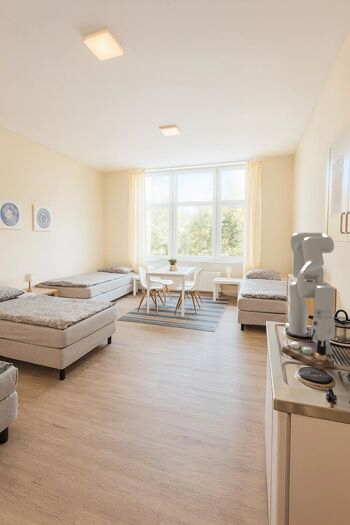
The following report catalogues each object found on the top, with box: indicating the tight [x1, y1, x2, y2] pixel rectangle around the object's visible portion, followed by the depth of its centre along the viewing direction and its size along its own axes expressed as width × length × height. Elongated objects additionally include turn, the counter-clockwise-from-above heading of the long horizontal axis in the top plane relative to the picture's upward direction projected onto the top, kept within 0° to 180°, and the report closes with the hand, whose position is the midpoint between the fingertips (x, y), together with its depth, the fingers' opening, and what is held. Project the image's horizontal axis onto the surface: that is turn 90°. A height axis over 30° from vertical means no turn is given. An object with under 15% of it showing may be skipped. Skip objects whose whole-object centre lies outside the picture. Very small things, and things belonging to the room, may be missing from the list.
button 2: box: [302, 346, 313, 356], centre depth 125 cm, size 4×4×3 cm
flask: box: [326, 340, 333, 356], centre depth 131 cm, size 7×7×10 cm
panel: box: [281, 344, 335, 370], centre depth 125 cm, size 20×10×3 cm, turn 25°
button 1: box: [289, 341, 300, 350], centre depth 131 cm, size 4×4×3 cm
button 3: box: [315, 353, 327, 362], centre depth 118 cm, size 4×4×3 cm
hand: (321, 353), depth 118 cm, fingers closed
